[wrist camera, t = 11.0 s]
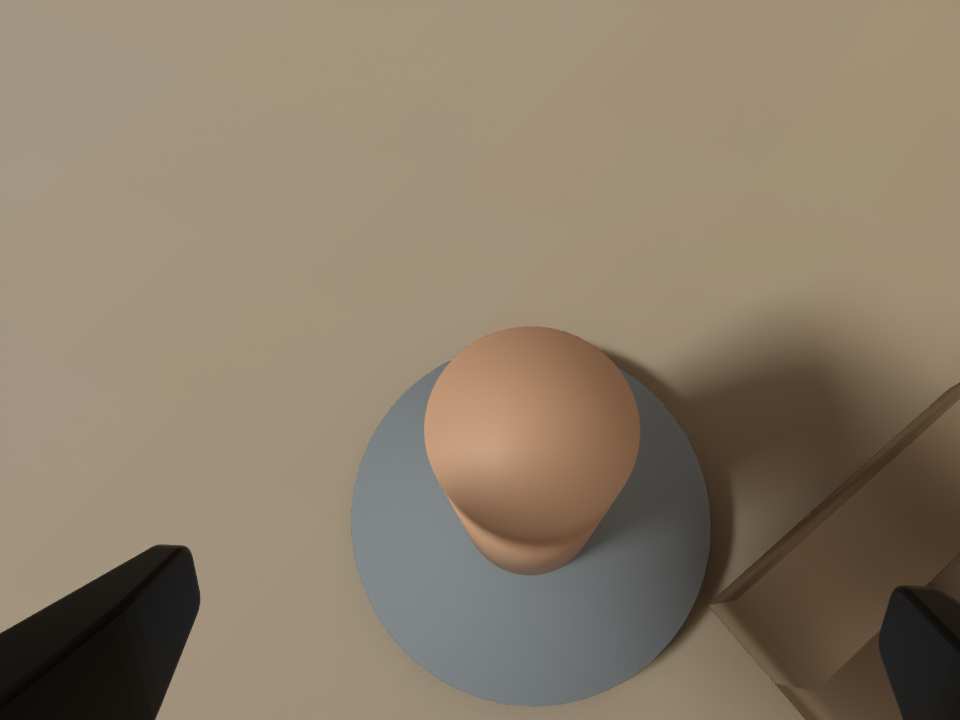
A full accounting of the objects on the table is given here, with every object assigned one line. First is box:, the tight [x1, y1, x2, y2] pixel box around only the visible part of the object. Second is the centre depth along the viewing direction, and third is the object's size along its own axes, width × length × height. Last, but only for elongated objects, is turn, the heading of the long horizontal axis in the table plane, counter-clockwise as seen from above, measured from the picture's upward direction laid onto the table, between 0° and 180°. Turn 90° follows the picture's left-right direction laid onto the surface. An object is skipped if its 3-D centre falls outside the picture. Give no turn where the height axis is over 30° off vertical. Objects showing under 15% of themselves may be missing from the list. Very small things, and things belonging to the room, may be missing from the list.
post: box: [424, 327, 640, 575], centre depth 17 cm, size 4×4×9 cm
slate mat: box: [351, 360, 711, 706], centre depth 22 cm, size 11×11×1 cm
